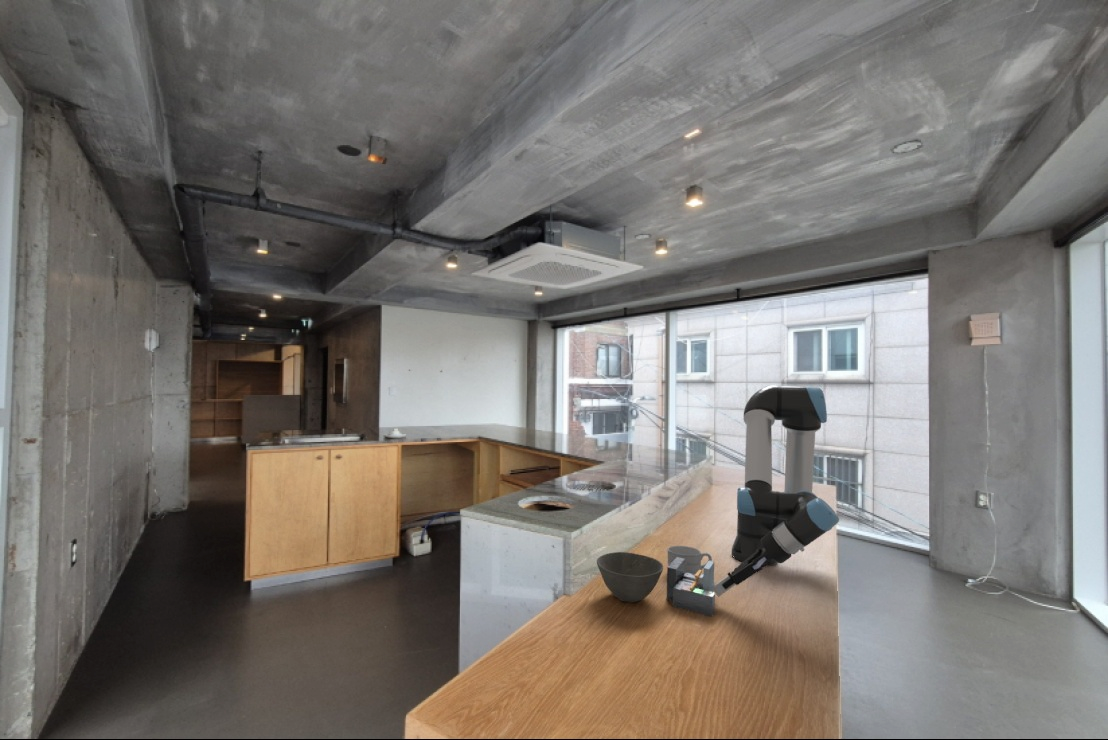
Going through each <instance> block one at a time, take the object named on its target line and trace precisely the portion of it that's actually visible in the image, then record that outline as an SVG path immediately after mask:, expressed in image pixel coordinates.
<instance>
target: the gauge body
mask: <svg viewBox="0 0 1108 740" xmlns="http://www.w3.org/2000/svg"><path fill="white" fill-rule="evenodd" d="M666 570H667V571H666V600H668V601H672V607H673V608H677V609H680V608H682V609H681V610H684V609H685V611H688V610H689V611H688V612H691V613H692V612H693V613H695V612H696V613H695V614H700V615H703V616H708V617H711V618H713V615H714V614H715V613H716V612H715V611H716V609H715V608H716V607H715V606H716V593H715V592H710V591H706V590H702V589H701V585H697V584H696V586H695V587H694V588H693V590H690V587H691V585H692V584H693V583H689V582H685V581H682V580H683V579H687V580H692V581H695V580H696V578H695V574H690V573H685V559H684V558H679V557H677V558H676V559H675V560H674V561H673V562H672V563H671V564H670V565H669V566H667V567H666Z"/></svg>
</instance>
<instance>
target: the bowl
mask: <svg viewBox="0 0 1108 740" xmlns="http://www.w3.org/2000/svg"><path fill="white" fill-rule="evenodd" d="M596 565H597V567H598V570H599V572H600V575H601V578H602V580H603V582H604V584H605V586H606V588H607V589H608V591H610V593H611V594H612V595H613V596H614V597H616V598H617V599H619V600H620V601H623V602H625V603H637V602H639V601H641V600H644V599H645V598H646V597H648V595H650V594H651V593H652V591H653V590H654V589H655V587H656V586H657V584H658V582H659V579H660V578H661V575H662V573H663V571H664V565H663V563H662V562H661V561H660V560H658V559H657V558H654V557H651V556H646V555H643V554H638V553H635V552H634V553H633V552H625V551H615V552H609V553H604V554H603V555H601V556H599V557H598V558H597V559H596Z"/></svg>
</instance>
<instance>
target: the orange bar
mask: <svg viewBox="0 0 1108 740" xmlns="http://www.w3.org/2000/svg"><path fill="white" fill-rule="evenodd" d="M702 572H703V569H702V570H698V572H697V573H696V574H695V578H696V580H695V581H694V583H693V584H692V585H691V587H690V590H693V588H694V587H695V586H696V584H697V582H698V577H699V576H700V574H703V573H702Z"/></svg>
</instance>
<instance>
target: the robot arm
mask: <svg viewBox="0 0 1108 740" xmlns="http://www.w3.org/2000/svg"><path fill="white" fill-rule="evenodd" d="M827 414H828V413H827V404H826V399H825V394H824V390H822V389H821V388H820V387H817V386H816V387H815V386H808V385H806V386H804V385H802V386H801V385H799V386H798V385H797V386H795V385H792V386H791V385H768V386H764V387H763V388H761V389H759V390H757V391H756V392H754V393H753V394H752V395H751V397H750V398H749V399H748V401H747V402H746V404H745V407H744V411H743V423H744V424H745V425H746V430H745V431H746V432H745V458H744V459H745V461H744V463H745V464H744V465H745V466H744V467H745V468H744V486H743V487H738V488H737V494H736V495H737V497H736V510H737V524H736V525H737V527H736V536H735V539H734V541H733V545H732V546H731V547H732V548H731V556H732V555H733V556H734V557H735V558H736V559H735V558H734V557H733V556H732V557H733V558H734V559H735V560H737V559H738V561H739V560H740V561H739V562H741V563H740V564H739V565H738V566H736V567H735V568H733V570H732V571H731V573H730V572H727V575H726V576H725V577H724V578H722V579H721V580H719V581H718V582H717V583H714V586H713V587H712V589H713V591H714V593H715V595H716V596H717V597H718V598H719V597H721V596H722V595H724V594H725V593H727V591H729V590H730V589H731V588H733V587H734V586H735V585H736V586H739V585H740V584H741V583H742V582H745V581H746V580H748V579H749V578H751V577H752V576H753V575H755V574H757V573H759V572H760V571H761V572H762V570H763V569H764V568H766V567H768V566H774V565H776V564H777V563H778V564H784V563H785V562H786V561H787V560H789V559H791V557H792V555H795V554H797V553H799V551H800V552H804V551H805V547H807V546H808V545H810V544H811V543H812V542H814V541H815V540H817V539H818V538H820V537H821V536H822V535H824V534H825V533H827V532H829V531H831V530H832V529H833V528H834V527H835V526H836V525H837V524H839V522H840V517H839V515H838V514H837V513H836V511H835V510H834V509H833V508H832V507H831V506H830V505H829V504H828V503H827V502H826V501H825V500H824V499H823V498H820V497H818V496H817V495H816V494H815V493H814V492H813V484H814V482H813V481H814V480H813V479H814V463H815V449H816V448H815V444H816V443H815V442H816V432H818V431H819V430H820V429H821V428H822V424H824V423H827V419H828V415H827ZM775 421H781V426H782V427H784V428H785V430H786V441H785V442H786V443H785V468H784V469H785V471H784V491H778V490H773V457H772V456H773V454H772V452H773V451H772V449H773V446H772V445H773V444H772V440H773V439H772V438H773V437H772V426H773V425H774V424H775ZM742 561H743V562H742Z"/></svg>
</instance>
